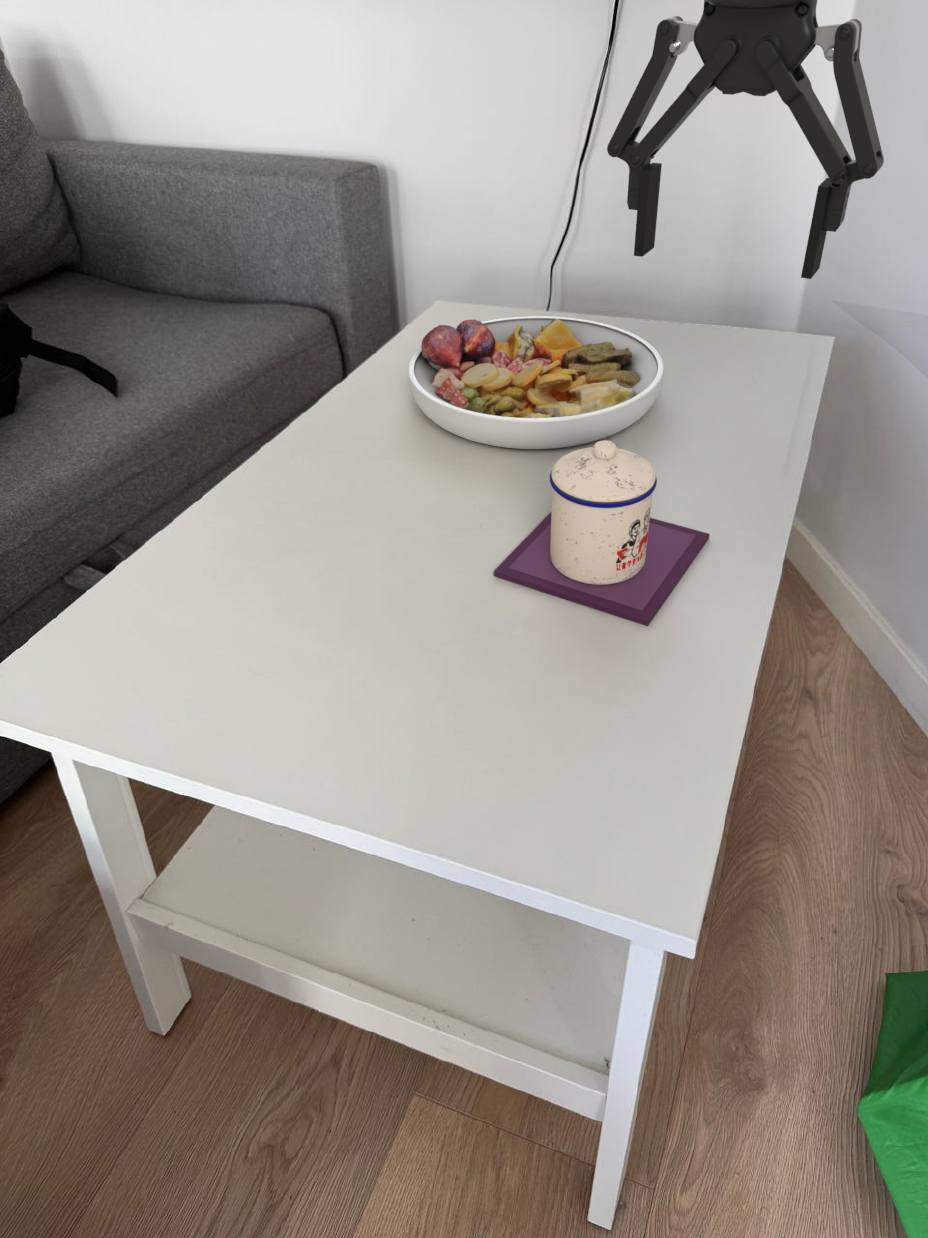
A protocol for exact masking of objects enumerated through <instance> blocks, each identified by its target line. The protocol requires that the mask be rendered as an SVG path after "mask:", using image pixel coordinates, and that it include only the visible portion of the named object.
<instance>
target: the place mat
mask: <svg viewBox="0 0 928 1238" xmlns="http://www.w3.org/2000/svg"><path fill="white" fill-rule="evenodd" d="M551 513H552V510H551V511H550V512H549V513H548V514H547V515H546V516H545V517H544V518H543V519H542V520H541V521H540V522H539V524H538V525H536V526H535V528H534V529H533V530H532V531H531V532H530V533H529V534H527V536H526V537H525V538H524V539H523V540H522V541H521V542H520V543H519V544H518V545H517V546H516V547H515V548H514V549H513V551H511V553H510V554H509V555H507V557H505V559H504V560H503V561H502V562H501V563H500V564H499V565H498V566H497V567H496V568H495V569H494V570H493V577H495V578H499V579H502V580H505V581H507V582H511V583H514V584H517V585H520V586H523V587H526V588H530V589H533V590H535V591H539V592H542V593H545V594H547V595H551V596H554V597H557V598H560V599H564V600H566V601H570V602H573V603H575V604H578V605H582V606H585V607H588V608H591V609H594V610H597V611H600V612H603V613H605V614H609V615H613V616H616V617H618V618H620V619H621V618H623V619H625V620H628V621H631V622H634V623H637V624H640V625H644V626H646V627H648V626H649V625H650V624H651V623H652V621H653V620H654V618H655V617H656V616H657V614H658V613H659V611H660V609H661V608H662V607H663V605H664V604H665V603H666V601H667V600H668V598H669V597H670V595H672V592H673V591H674V590H675V588H676V587H677V585H678V584H679V583H680V582H681V580H682V578H683V577H684V575H685V574H686V573H687V571H688V570H689V568H690V567H691V565H692V564H693V563H694V561H695V559H697V557H698V555H699V554H700V552H701V551H702V549H704V547H705V545H706V544H707V542H708V541H709V539H710V533H708V532H704V531H701V530H697V529H693V528H689V527H685V526H682V525H679V524H675V523H671V522H668V521H663V520H660V519H658V518H653V517H650V522H649V531H648V540H647V549H646V558H645V563H644V565H643V567H642V569H641V570H640V571H639V572H638V573H637V574H636V575H634V576H633V577H631V578H629V579H627V580H625V581H622V582H619V583H614V584H607V585H594V584H587V583H582V582H578V581H575V580H573V579H570V578H568V577H566V576H565V575H563V574H562V573H560V572H559V571H558V570H557V569H556V568H555V566H554V565H553V563H552V561H551V557H550V545H551Z"/></svg>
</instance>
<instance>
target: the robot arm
mask: <svg viewBox="0 0 928 1238" xmlns="http://www.w3.org/2000/svg"><path fill="white" fill-rule="evenodd" d="M817 6H818V0H703V11H702V15H701V17H700V20H699V21H698V22H693V21H686V20H684V19H683V17H681V16H679V15H675V16H671V17H668V18H666V19H663V20H661V21H659V23H658V24H657V27H656V32H655V37H654V42H653V48H652V54H651V56H650V59H649V61H648V63H647V64H646V67H645V69H644V71H643V73H642V75H641V76H640V79H639V81H638V83H637V85H636V87H635V90H634V91H633V94H632V95H631V97H630V100H629V101H628V103H627V105H626V108H625V110H624V111H623V113H622V116H621V117H620V120H619V121H618V124H617V126H616V128H615V130H614V132H613V133H612V136H611V138H610V140H609V142H608V144H607V146H606V151H607V154H608V155H609V156H610V157H611V158H618V159H620V160H621V161H624V162H625V163H626V164H627V166H628V183H627V184H628V185H627V195H626V196H627V197H626V204H627V208H628V210H631V211H636V223H635V234H634V235H635V236H634V245H633V246H634V247H633V248H634V249H633V256H634V257H642V258H643V257H644V256H646V255H647V254H648V253H649V252H650V251H652V250H653V249H654V248H655V244H656V231H657V230H656V229H657V221H658V220H657V219H658V211H659V210H658V209H659V199H660V187H661V175H662V166H663V165H662V163H661V162H651V161H652V160H653V159H654V158H655V156H656V155H657V154H658V152H659V151H660V150H661V149H662V148H663V146H664V145H665V144H666V143H667V142H668V141H669V140H670V138H671V137H672V136H673V135H674V134H675V133H676V132H677V131H678V129H679V128H680V127H681V126H682V125H683V124H684V122H685V121H686V120H687V119H688V118H689V117H690V116H691V114H693V112H694V111H695V110H696V109H697V107H699V105H701V103H702V102H703V101H704V99H705V98H706V97H708V95H709V94H710V93H711V92H712V91H713V90H714V89H715V88H716V89H717V90H718V91H719V92H721V94H722V95H731V96H732V95H737V94H741V93H745V94H748V95H752V96H753V97H766V96H767V95H770V94H773V93H774V92H777V94H778V96H779V98H780V99H781V101H782V102H783V103H784V105H786V106H787V107H788V108H789V110H790V112H791V114H792V116H793V117H794V119H795V121H796V122H797V124H798V126H799V128H800V130H801V131H802V134H803V135H804V137H805V138H806V140H807V142H808V144H809V145H810V147H811V149H812V150H813V151H812V152H813V153H814V154H815V156H816V158H817V160H818V161H819V163H820V165H821V167H822V169H823V170H824V172H825V174H826V175H827V177H826V178H825V179H824V180H823V181H822V182H821V183H819V185H818V186H817V192H816V196H815V202H814V207H813V212H812V218H811V223H810V227H809V233H808V238H807V244H806V249H805V254H804V259H803V264H802V265H803V266H802V268H801V269H802V270H801V274H800V278H801V279H809V280H811V279H812V278H813V277H815V275H816V273H817V272H818V271H819V270H820V267H821V263H822V257H823V252H824V247H825V243H826V237H827V232H832V233H836V232H837V231H838V230H839V228H840V227H841V225H842V224H843V223H844V221H845V218H846V214H847V213H846V212H847V208H848V207H847V206H848V202H849V198H850V194H851V189H852V185H853V183H855V182H857V181H861V180H869V179H872V178H873V177H875V175H876V174H877V173H878V172H879V171H880V170H881V168H882V167H883V165H884V163H885V158H884V153H883V149H882V146H881V141H880V138H879V133H878V129H877V126H876V125H877V124H876V121H875V117H874V113H873V108H872V105H871V101H870V100H871V99H870V96H869V92H868V87H867V84H866V80H865V76H864V71H863V68H862V63H861V60H860V50H861V42H862V31H863V26H862V25H863V24H862V22H861V21H860V20H859V19H858V18H852V19H849V20H847V21H845V22H844V23H837V24H827V25H820V26H819V23H818V20H817ZM692 42H693V43H694V47H695V49H696V51H697V53H698V55H699V57H700V59H701V62H702V64H703V66H702V67H700V69H699V70H698V71H697V73H695V75H694V76H693V77H692V78H691V79H690V81H688V83H687V85H686V86H685V88H684V89H683V90H682V92H681V93H680V94H679V96H678V97H676V99H675V100H674V101H673V102H672V103H671V104H670V106H669V107H668V108H667V110H666V111H665V112H664V113H663V114H662V115H661V117H660V118H659V119H658V120H657V121H656V123H655V124H654V125H653V126H652V127H651V128H650V130H648V132H647V133H646V134H645V136H643V138H642V139H641V140H640V142H639V141H637V138H638V136H639V134H640V132H641V130H642V129H643V126H644V125H645V122H646V120H647V118H648V117H649V115H650V113H651V110H652V109H653V107H654V105H655V103H656V101H657V99H658V97H659V95H660V93H661V91H662V90H663V88H664V85H665V84H666V82H667V79H668V78H669V76H670V74H671V72H672V70H673V68H674V67H675V63H676V62H677V59H678V56H679V55H682V54H684V53H685V52H686V51H687V49H688V47H689V45H690V44H691V43H692ZM816 46H819V47H820V48H821V49H822V51H823V52H822V53H823V56H824V59H825V60H826V61H828V62H832V67H833V75H834V80H835V84H836V87H837V92H838V95H839V96H838V97H839V100H840V104H841V107H842V111H843V115H844V119H845V123H846V128H847V130H848V136H849V139H850V143H851V146H852V150H853V151H852V152H853V155H854V159H852V157H851V156H850V154H849V152H848V150H847V147H845V144H844V142H843V141H842V139H841V138H840V136H839V134H838V132H837V130H836V128H835V126H834V125H833V123H832V121H831V119H830V118H829V116H828V114H827V113H826V111H825V109H824V107H823V105H822V104H821V102H820V100H819V98H818V97H817V94H816V93H815V91H814V88H813V87H812V82H811V79H810V78H809V76H808V74H807V73H806V70H805V69H804V67H803V66H802V63H803V62H804V61H805V60H806V59H807V57H808V56H809V55H810V54H811V52H812V51H813V50H814V49H815V48H816Z"/></svg>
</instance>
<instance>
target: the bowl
mask: <svg viewBox="0 0 928 1238" xmlns="http://www.w3.org/2000/svg"><path fill="white" fill-rule="evenodd" d="M420 346H421V347H419V348H418V350H416V351H415V353H414V354H413V355H412V356H411V358H410V361H409V363H408V366H407V376H408V383H409V389H410V392H411V395H412V397H413V399H414V401H415V402H416V405H417V406H418V407H419V408H420V410H421V411H422V413H423V414H425V416H427V417H428V418H429V420H431V421H432V422H433V423H435V424H436V425H437V426H439V427H440V428H442V429H444V430H445V431H447V432H449V433H451V434H454V435H456V436H458V437H461V438H463V439H465V440H469V441H472V442H476V443H479V444H483V445H488V446H489V445H490V446H493V447H499V448H507V449H518V450H548V449H549V450H551V449H560V448H569V447H575V446H580V445H585V444H588V443H593V442H597V441H600V440H602V439H605V438H607V437H610V436H613V435H615V434H617V433H619V432H621V431H623V430H624V429H627V428H628V427H631V425H633V424H634V423H636V422H637V421H638V420H640V419H641V418H642V417H643V416H644V415H646V413H647V412H648V411H649V410H650V409H651V407H652V406H653V404H654V403H655V401H656V400H657V398H658V396H659V395H660V392H661V389H662V385H663V382H664V374H665V364H664V360H663V358H662V356H661V354H660V353H659V352H658V350H657V349H656V348H655V347H654V346H653V345H652V344H651V343H650V342H648V341H647V340H645V339H644V338H642V337H640V336H639V335H637V334H635V333H633V332H631V331H628V330H626V329H623V328H621V327H617V326H614V325H610V324H608V323H604V322H599V321H594V320H588V319H583V318H577V317H567V316H551V315H549V316H548V315H541V316H540V315H531V316H528V315H527V316H525V315H524V316H512V317H502V318H495V319H489V320H484V321H480V320H477V319H465V320H462V321H461V322H460V323H459V324H458V325H457V326H456V328H455V327H454V326H451V325H447V324H439V325H437V326H435V327H433V329H431V330H430V331H428V332H427V333H426V334H425V336H424V337H423V338H422V340H421V345H420Z"/></svg>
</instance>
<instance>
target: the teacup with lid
mask: <svg viewBox="0 0 928 1238" xmlns="http://www.w3.org/2000/svg"><path fill="white" fill-rule="evenodd" d="M549 483H550V486H551V511H552V513H551V545H550V557H551V561H552V563H553V565H554V566H555V568H556V569H557V570H558V571H559V572H560V573H562V574H563V575H565V576H566V577H568V578H570V579H573V580H575V581H578V582H582V583H587V584H594V585H607V584H614V583H619V582H622V581H625V580H627V579H629V578H631V577H633V576H634V575H636V574H637V573H638V572H639V571H640V570H641V569H642V567H643V565H644V563H645V558H646V549H647V540H648V531H649V522H650V518H651V513H652V512H651V511H652V502H653V493H654V491H655V490H656V487H657V484H658V479H657V475H656V472H655V469H654V467H653V466H652V464H651V463H650V462H649V461H648V460H647V459H646V458H644V457H643V456H641V455H639V454H637V453H635V452H633V451H630V450H627V449H623V448H620V447H619V448H618V447H617V445H616V443H615V442H613V441H611V440H605V439H604V440H598V441H596V442H595V444H593V446H591V447H584V448H580V449H576V450H573V451H571V452H568V453H566V454H564V455H562V457H560V458H559V459H557V461H556V462H555V464H554V465H553V467H552V468H551V471H550V474H549Z"/></svg>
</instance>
